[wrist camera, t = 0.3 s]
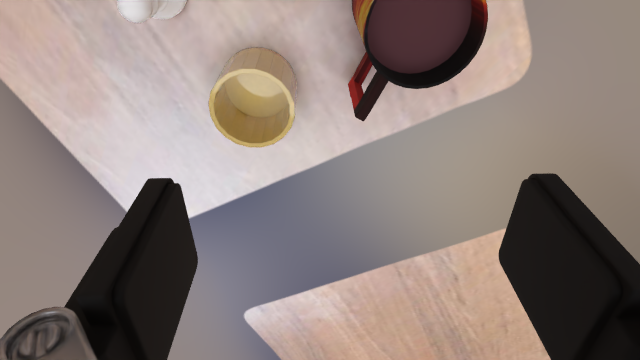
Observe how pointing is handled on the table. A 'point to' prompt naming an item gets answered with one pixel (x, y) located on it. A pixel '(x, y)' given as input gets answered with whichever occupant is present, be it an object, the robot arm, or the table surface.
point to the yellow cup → (254, 98)
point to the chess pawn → (149, 9)
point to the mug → (414, 44)
